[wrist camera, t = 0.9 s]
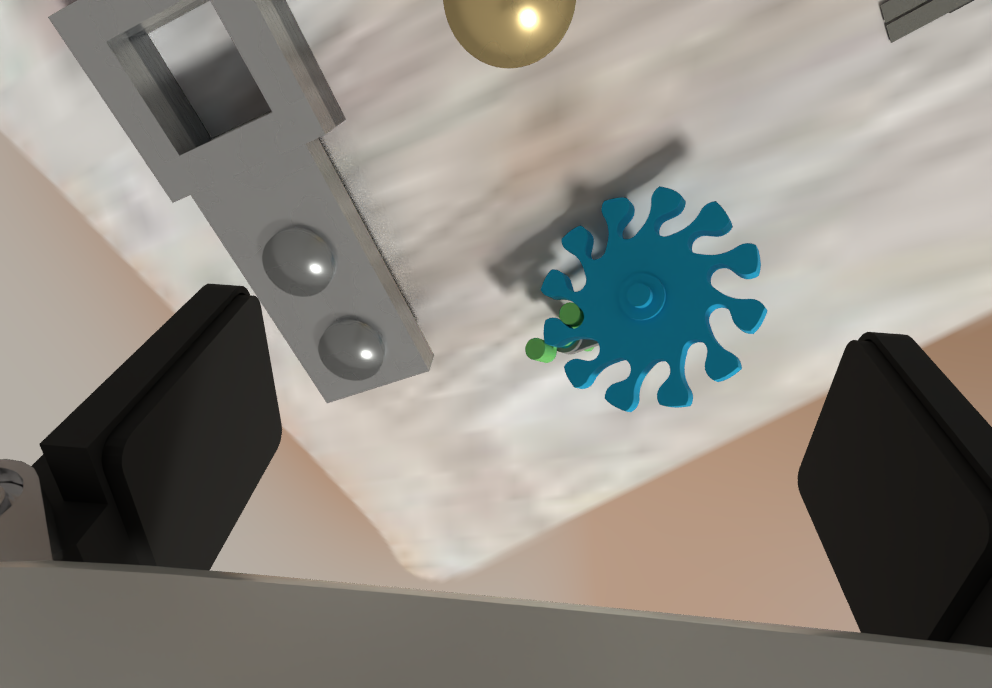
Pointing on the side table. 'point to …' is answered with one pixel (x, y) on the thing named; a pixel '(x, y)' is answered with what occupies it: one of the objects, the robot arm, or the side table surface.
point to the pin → (509, 28)
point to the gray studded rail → (261, 183)
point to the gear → (647, 301)
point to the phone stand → (915, 14)
